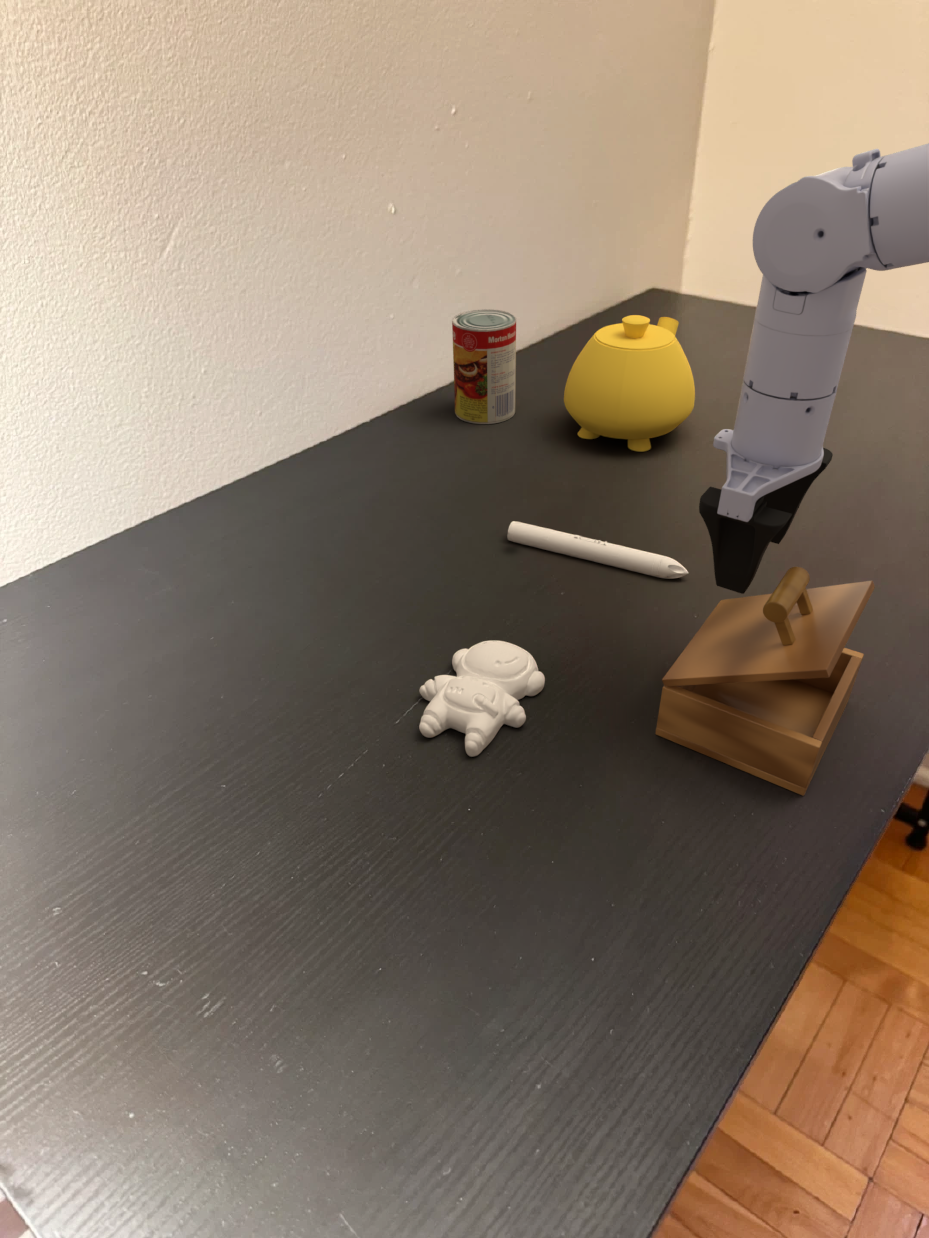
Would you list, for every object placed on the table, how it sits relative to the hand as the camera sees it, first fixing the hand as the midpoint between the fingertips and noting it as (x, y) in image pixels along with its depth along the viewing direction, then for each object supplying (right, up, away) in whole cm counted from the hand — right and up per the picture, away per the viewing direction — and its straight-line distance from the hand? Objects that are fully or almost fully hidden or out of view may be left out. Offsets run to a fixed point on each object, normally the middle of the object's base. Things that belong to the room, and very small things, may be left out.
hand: (749, 562), depth 62 cm
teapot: (0, +20, +45) cm, 49 cm away
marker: (-8, +1, +20) cm, 22 cm away
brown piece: (0, -5, -3) cm, 6 cm away
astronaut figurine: (-20, -11, +4) cm, 23 cm away
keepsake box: (+1, -12, +2) cm, 12 cm away
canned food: (-18, +23, +49) cm, 57 cm away
